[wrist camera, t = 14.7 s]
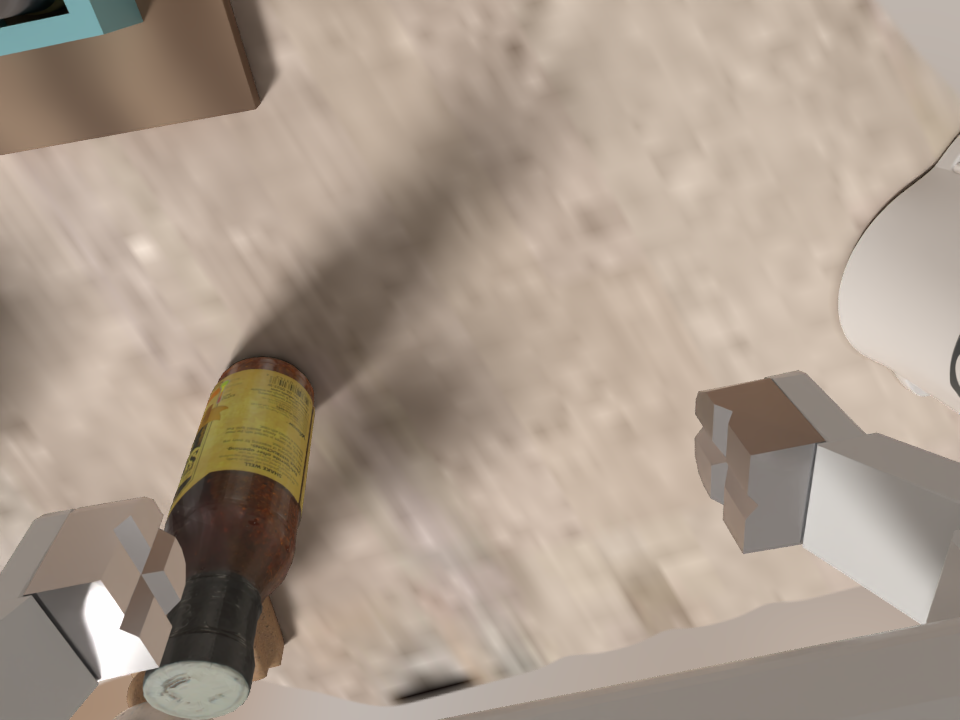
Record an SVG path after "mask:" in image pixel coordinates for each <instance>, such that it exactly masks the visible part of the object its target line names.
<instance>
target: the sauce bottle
mask: <svg viewBox="0 0 960 720" xmlns="http://www.w3.org/2000/svg"><path fill="white" fill-rule="evenodd" d="M313 404H314V392H313V388H312V386H311V384H310V382H309V381H308V379H307V378H306V377H305V375H304V374H302V373H301V372H300V371H299V370H298V369H297V368H296V367H294V366H293V365H291V364H289V363H287V362H285V361H282V360H279V359H277V358H269V357H257V358H255V357H253V358H249V359H244V360H242V361H239V362H237V363H235V364H233V366H231V367H230V368H229V369H228V370H226V371H225V372H224V373H223V374H222V376H221V378H220V379H219V381H218V384H217V385H216V386H215V388H214V389H213V391H212V393H211V395H210V398H209V400H208V403H207V406H206V409H205V412H204V414H203V417H202V420H201V423H200V426H199V429H198V432H197V435H196V437H195V440H194V443H193V445H192V448H191V451H190V455H189V457H188V459H187V462H186V466H185V469H184V471H183V474H182V477H181V480H180V483H179V486H178V489H177V492H176V494H175V497H174V499H173V503H172V505H171V508H170V511H169V515H168V518H167V521H166V524H165V528H164V531H165V532H167V533H169V534H171V535H172V536H174V537H176V539H177V541H178V543H179V545H180V547H181V549H182V552H183V555H184V559H185V563H186V584H185V587H184V591H183V594H182V597H181V600H180V601H179V602H178V604H177V605H176V606H175V607H174V608H173V609H172V610H171V611H170V612H169V613H168V614H167V618H168V620H169V622H170V623H171V625H172V629H171V632H170V635H169V638H168V641H167V644H166V647H165V650H164V653H163V656H162V660H161V663H160V666H159V668H154V669H150V670H146V672H145V676H144V679H143V695H144V697H145V699H146V700H147V702H148V703H149V704H150V705H151V706H152V707H154V708H156V709H157V710H159V711H162V712H164V713H166V714H169V715H172V716H176V717H181V718H187V719H193V720H200V719H210V718H215V717H219V716H223V715H225V714H228V713H230V712H232V711H234V710H235V709H237V708H238V707H239V706H241V705H243V704H244V702H245V700H246V699H247V697H248V695H249V692H250V689H251V684H252V680H253V674H254V670H255V657H254V649H253V645H254V639H255V635H256V628H257V621H258V619H259V618H260V615H261V613H262V608H263V606H262V603H263V602H264V600H265V598H266V597H267V596H268V595H269V594H271V593H272V592H273V591H274V590H275V589H276V588H277V587H278V586H279V585H280V584H281V583H282V581H283V580H284V579H285V577H286V575H287V572H288V570H289V568H290V566H291V564H292V560H293V556H294V552H295V544H296V536H297V529H298V527H299V524H300V521H301V516H302V508H303V500H304V493H305V486H306V478H307V470H308V462H309V454H310V446H311V438H312V431H313V423H314V416H315V408H314V407H313Z"/></svg>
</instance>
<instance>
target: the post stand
mask: <svg viewBox="0 0 960 720" xmlns="http://www.w3.org/2000/svg"><path fill="white" fill-rule="evenodd" d="M135 2H136V4H137V7H138V9H139V12H140V14H141V17H142V19H143V22H142V23H138V24H135V25H132V26H129V27H126V28H123V29H119V30H116V31H113V32H110V33H107V34H104V35H99V36H94V37H89V38H84V39H80V40H75V41H70V42H65V43H60V44H56V45H51V46H46V47H41V48H36V49H32V50H27V51H22V52H17V53H12V54H8V55H3V56H0V155H4V154H10V153H15V152H21V151H27V150H32V149H38V148H43V147H49V146H54V145H60V144H65V143H71V142H77V141H82V140H88V139H93V138H99V137H104V136H110V135H115V134H121V133H127V132H132V131H138V130H143V129H149V128H154V127H160V126H165V125H171V124H177V123H182V122H188V121H193V120H199V119H204V118H210V117H215V116H221V115H227V114H232V113H238V112H243V111H249V110H254V109H257V107H258V106H259V105H260V104H261V102H260V99H259V95H258V92H257V89H256V85H255V82H254V79H253V76H252V72H251V69H250V66H249V63H248V59H247V56H246V53H245V50H244V46H243V43H242V40H241V36H240V33H239V30H238V27H237V23H236V20H235V17H234V14H233V10H232V7H231V4H230V1H229V0H135ZM68 13H69V11H68V9H67V7H66V5H65V2H64V0H0V19H3V18H4V20H5V22H6V24H7V26H10V25H15V24H20V23H24V22H29V21H34V20H39V19H44V18H48V17H53V16H58V15H63V14H68Z"/></svg>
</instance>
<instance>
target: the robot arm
mask: <svg viewBox="0 0 960 720" xmlns="http://www.w3.org/2000/svg"><path fill="white" fill-rule="evenodd" d="M838 312H839V319H840V323H841V327H842V329H843V332H844V334H845V336H846V338H847V339H848V341H849V342H850V344H851V345H852V346H853V347H854V348H855V349H856V350H857V351H858V352H859V353H861V354H862V355H864V356H865V357H867V358H869V359H871V360H873V361H875V362H877V363H879V364H881V365H883V366H885V367H887V368H889V369H891V370H893V372H894V373H895V375H896V376H897V378H898V380H899V381H900V382H901V384H902V385H903V386H904V387H905V388H907V389H908V390H910V391H911V392H913V393H914V394H916V395H918V396H929V395H931V396H932V397H934V398H935V399H937V400H938V401H940V402H941V403H943V404H944V405H946V406H947V407H949V408H950V409H952V410H953V411H955V412H956V413H958V414H960V135H959V136H958V137H957V138H956V139H955V141H954V142H953V143H952V144H951V145H950V147H949V148H948V149H947V151H946V152H945V153H944V155H943V156H942V157H941V159H940V160H939V161H938V163H937V164H936V166H935V167H934V168H933V169H932V170H930V171H929V172H928V173H927V174H926V175H925V176H924V177H922V178H921V179H920V180H918V181H917V182H916V183H914V184H913V185H912V186H911V187H909V188H908V189H907V190H905V191H904V192H903V193H901V194H900V195H899V196H898V197H897V198H895V199H894V200H893V201H892V202H891V203H890V204H889V205H888V206H887V207H886V208H885V209H884V210H883V211H882V212H881V213H880V214H879V215H878V216H877V217H876V219H875V220H874V221H873V222H872V223H871V225H870V226H869V227H868V228H867V230H866V231H865V233H864V234H863V235H862V237H861V238H860V240H859V242H858V243H857V245H856V247H855V248H854V250H853V252H852V254H851V256H850V258H849V260H848V263H847V265H846V268H845V270H844V273H843V276H842V280H841V284H840V289H839V297H838ZM695 415H696V416H697V418H698V419H699V421H700V422H701V424H702V426H703V427H702V429H701V430H700V431H699V433H698V434H697V435H696V437H695V458H696V463H697V468H698V473H699V475H700V478H701V480H702V483H703V486H704V487H705V489H706V491H707V493H708V495H709V496H710V498H711V499H713V500H715V501H717V502H719V503H721V504H723V505H724V507H723V521H724V522H725V524H726V526H727V528H728V529H729V531H730V533H731V534H732V536H733V538H734V539H735V541H736V543H737V545H738V546H739V548H740V550H741V551H742V553H743V554H746V553H752V552H758V551H764V550H770V549H776V548H782V547H788V546H794V545H800V544H803V548H805V549H807V550H808V551H810V552H811V553H813V554H814V555H816V556H817V557H819V558H820V559H822V560H823V561H825V562H826V563H828V564H829V565H831V566H833V567H834V568H836V569H837V570H839V571H840V572H842V573H843V574H845V575H846V576H848V577H849V578H851V579H852V580H854V581H856V582H857V583H859V584H860V585H862V586H863V587H865V588H866V589H868V590H869V591H871V592H872V593H874V594H876V595H877V596H879V597H880V598H882V599H883V600H885V601H886V602H888V603H890V604H891V605H892V606H894V607H895V608H897V609H899V610H900V611H901V612H903V613H905V614H906V615H908V616H909V617H911V618H912V619H914V620H915V621H917V622H918V623H920V624H921V625H917V626H912V627H907V628H902V629H897V630H891V631H886V632H881V633H876V634H871V635H866V636H861V637H856V638H850V639H846V640H840V641H836V642H831V643H825V644H820V645H815V646H810V647H805V648H800V649H794V650H789V651H784V652H779V653H774V654H769V655H764V656H759V657H754V658H749V659H744V660H738V661H734V662H728V663H724V664H718V665H713V666H708V667H703V668H698V669H693V670H688V671H683V672H677V673H672V674H667V675H662V676H657V677H652V678H647V679H642V680H637V681H632V682H627V683H622V684H617V685H611V686H607V687H601V688H597V689H591V690H586V691H581V692H576V693H571V694H566V695H561V696H556V697H551V698H546V699H540V700H535V701H530V702H525V703H521V704H515V705H510V706H505V707H500V708H495V709H490V710H485V711H480V712H474V713H469V714H464V715H459V716H454V717H449V718H444V719H439V720H960V463H959V462H956V461H953V460H950V459H948V458H945V457H942V456H939V455H937V454H934V453H931V452H929V451H926V450H923V449H920V448H918V447H915V446H912V445H909V444H907V443H904V442H901V441H898V440H896V439H893V438H890V437H888V436H885V435H882V434H879V433H873V434H866V433H865V432H864V431H863V430H862V429H861V428H860V427H859V426H858V425H857V424H856V423H855V422H854V421H853V420H852V419H851V418H850V417H849V416H848V415H847V414H846V413H845V412H844V411H843V410H842V409H841V408H840V407H839V406H838V405H837V404H836V403H835V402H834V401H833V400H832V399H831V398H830V397H829V396H828V395H827V394H826V393H825V392H824V391H823V390H822V389H821V388H820V387H819V386H818V385H817V384H816V383H815V382H814V381H813V380H812V379H811V378H810V377H809V376H808V375H807V374H806V373H804V372H802V371H799V370H797V371H792V372H788V373H783V374H779V375H774V376H769V377H765V378H764V379H760V380H755V381H750V382H745V383H740V384H735V385H729V386H724V387H719V388H714V389H709V390H704V391H699V392H698V395H697V398H696V406H695ZM163 516H164V515H163V514H162V512H161V511H160V509H159V507H158V506H157V504H156V502H155V501H154V499H151V498H147V497H139V498H133V499H127V500H121V501H115V502H109V503H103V504H98V505H92V506H86V507H80V508H77V509H70V510H64V511H59V512H53V513H48V514H44V515H42V516H40V517H39V518H37V519H35V520H34V521H33V523H32V524H31V526H30V527H29V529H28V531H27V532H26V534H25V535H24V537H23V539H22V540H21V542H20V543H19V545H18V547H17V548H16V550H15V551H14V553H13V554H12V556H11V558H10V559H9V561H8V562H7V564H6V566H5V567H4V569H3V570H2V572H1V574H0V720H69V719H70V718H71V717H72V715H73V714H74V713H75V712H76V711H77V710H78V708H79V707H80V706H81V705H82V704H83V702H84V701H85V700H86V699H87V698H88V696H89V695H90V694H91V693H92V692H93V690H94V689H95V688H96V687H97V686H98V682H97V681H101V680H105V679H110V678H114V677H118V676H123V675H127V674H132V673H136V672H141V671H145V670H150V669H154V668H159V666H160V663H161V660H162V656H163V653H164V650H165V647H166V644H167V641H168V638H169V635H170V632H171V629H172V625H171V623H170V622H169V620H168V618H167V617H166V615H167V614H168V613H169V612H170V611H171V610H172V609H173V608H174V607H175V606H176V605H177V604H178V602H179V601H180V600H181V597H182V594H183V591H184V587H185V584H186V563H185V559H184V555H183V552H182V549H181V547H180V545H179V543H178V541H177V539H176V537H174V536H172V535H171V534H169V533H167V532H165V531H163V530H161V529H159V527H160V524H161V522H162V519H163Z"/></svg>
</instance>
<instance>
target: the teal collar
mask: <svg viewBox="0 0 960 720" xmlns="http://www.w3.org/2000/svg"><path fill="white" fill-rule="evenodd" d="M64 2H65V5H66V7H67V9H68V11H69V13H68V14H63V15H58V16H53V17H48V18H44V19H39V20H34V21H29V22H24V23H20V24H15V25H10V26H7V24H6V22H5V20H4V18H3V19H0V56H3V55H8V54H12V53H17V52H22V51H27V50H32V49H36V48H41V47H46V46H51V45H56V44H60V43H65V42H70V41H75V40H80V39H84V38H89V37H94V36H99V35H104V34H107V33H110V32H113V31H116V30H119V29H123V28H126V27H129V26H132V25H135V24H138V23H142V22H143V19H142V17H141V14H140V12H139V9H138V7H137V4H136V2H135V0H64Z"/></svg>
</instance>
